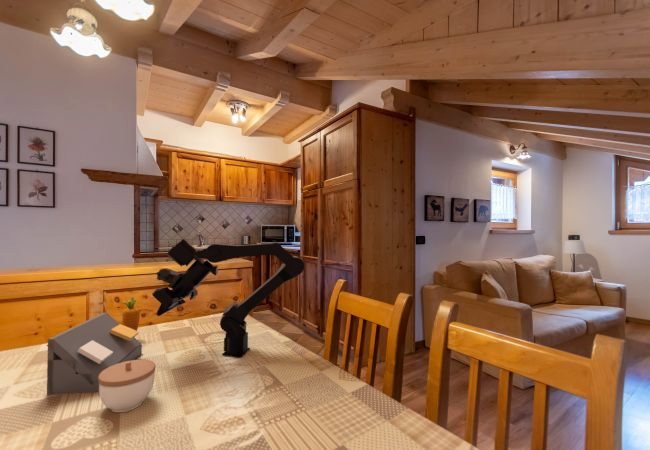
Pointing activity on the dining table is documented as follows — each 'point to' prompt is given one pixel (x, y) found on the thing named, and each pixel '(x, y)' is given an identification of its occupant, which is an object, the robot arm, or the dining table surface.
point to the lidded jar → (126, 384)
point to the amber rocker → (124, 332)
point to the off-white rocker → (95, 351)
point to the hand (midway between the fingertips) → (157, 314)
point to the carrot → (131, 315)
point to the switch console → (78, 370)
